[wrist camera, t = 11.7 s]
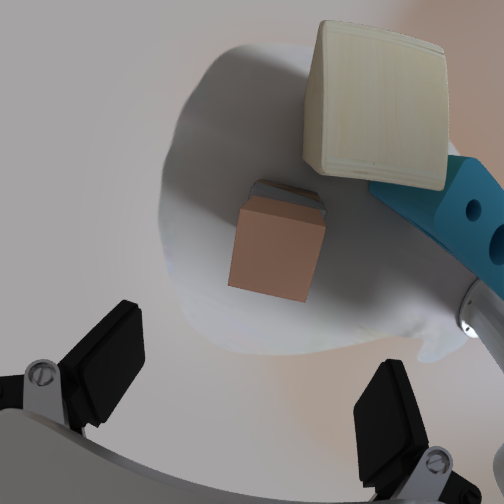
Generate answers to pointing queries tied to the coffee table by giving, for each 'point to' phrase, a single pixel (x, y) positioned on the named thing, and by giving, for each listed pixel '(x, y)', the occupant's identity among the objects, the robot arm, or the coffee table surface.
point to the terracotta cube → (276, 248)
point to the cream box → (377, 107)
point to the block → (458, 216)
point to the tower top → (285, 197)
